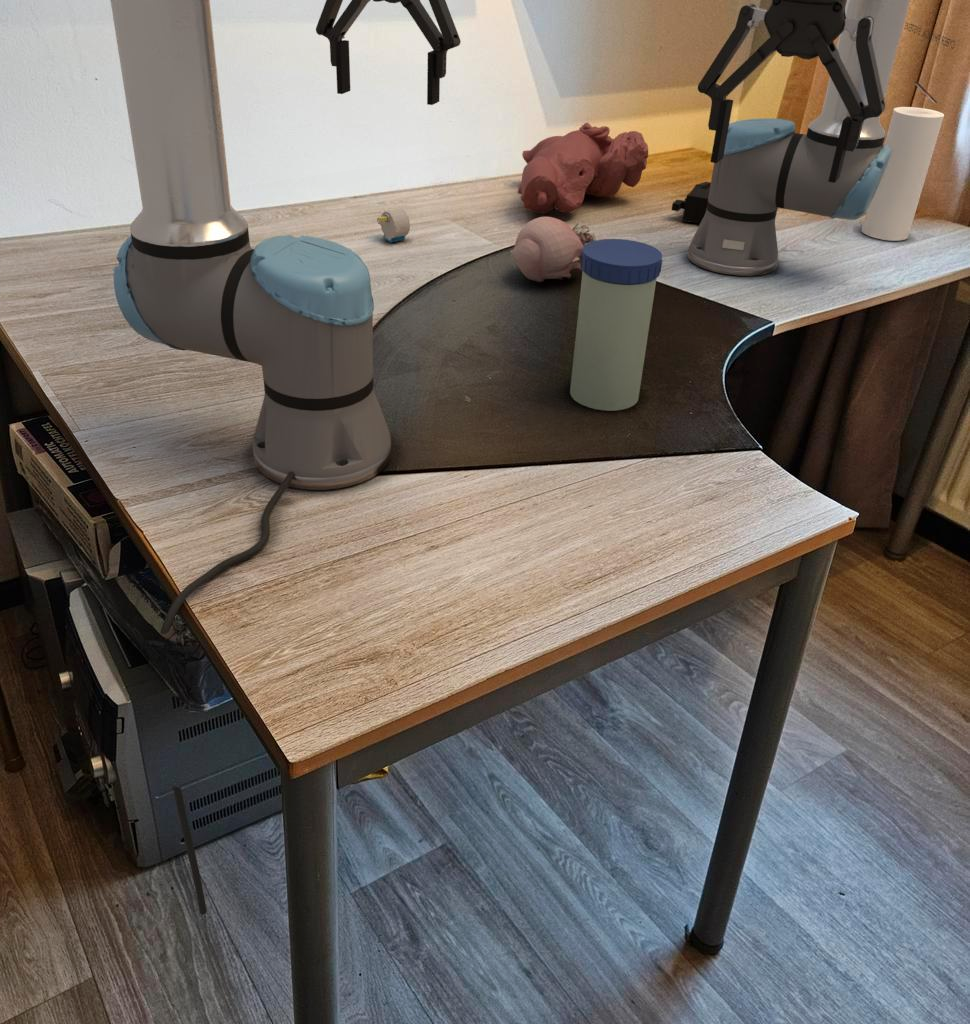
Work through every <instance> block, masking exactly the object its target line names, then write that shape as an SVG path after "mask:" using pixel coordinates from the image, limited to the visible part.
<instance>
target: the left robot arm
mask: <svg viewBox="0 0 970 1024" xmlns="http://www.w3.org/2000/svg"><path fill="white" fill-rule="evenodd" d="M343 1H344V0H325V3H324V5H323V8H322V11H321V13H320V16H319V19H318V22H317V24H316V27H315V33H316V34H317V35H318V36H323V37H324V38H326V39H327V40H328V42H329V54H330V56H329V57H330V65H331V67H335V70H336V71H335V72H336V94H339V95H343V94H346V93H349V92H351V67H350V66H351V63H350V41H349V40H345V38H346V36H345V35H347V33H348V31H349V30H350V29H351V27H352V26H353V24H354V23H355V21H356V20H357V19H358V18H359V16H360V14H361V13H362V12H363V10H364V9H365V8H366V6H367V5H368V4H369V3H370V2H371V1H372V2H377V3H380V2H384V1H385V2H387V3H389V4H398V3H400V4H401V5H402V7H403V8H405V9H406V10H407V12H408V13H409V15H410V17H411V18H412V20H413V21H414V22H415V24H416V26H417V27H418V29H419V31H420V32H421V33H422V35H423V36H424V38H425V39H426V40H427V43H428V44H429V46H430V47H431V48H432V50H431V51H428V52H427V74H426V75H427V79H426V80H427V85H426V87H427V88H426V105H429V106H433V105H435V104H438V103H440V93H441V92H440V91H441V90H440V89H441V87H440V86H441V83H440V81H441V79H443V78H445V77H446V74H447V54H448V51H449V50H451V49H454V48H457V47H459V46H460V45H461V42H462V41H461V38H460V35H459V33H458V30H457V27H456V24H455V22H454V19H453V17H452V14H451V11H450V9H449V7H448V4H447V1H446V0H428V2H429V5H430V8H431V10H432V13H433V15H434V18H435V21H436V23H437V25H438V26H437V25H436V23H435V22H434V20H433V19H432V17H431V15H429V13H428V11H427V9H426V8H425V6H424V5H423V3H422V2H421V0H351V1H350V2H349V3H348V5H347V6H346V8H345V9H344V11H343V12H342V14H341V15H340V16H339V18H338V19H337V17H338V14H339V12H340V9H341V6H342V4H343ZM110 6H111V12H112V19H113V20H112V21H113V27H114V31H115V39H116V45H117V52H118V59H119V64H120V70H121V77H122V84H123V90H124V96H125V97H124V98H125V103H126V110H127V116H128V122H129V123H128V124H129V129H130V136H131V142H132V149H133V156H134V161H135V169H136V175H137V180H138V187H139V194H140V199H141V206H142V210H141V211H140V212H139V214H138V215H137V216H136V217H135V218H134V220H133V221H132V222H131V224H130V225H129V232H130V236H128V237H127V238H126V239H125V240H124V241H123V243H122V244H121V246H120V247H119V249H118V252H117V256H116V260H117V261H118V265H117V266H114V268H113V288H114V294H115V298H116V302H117V305H118V307H119V310H120V312H121V315H122V316H123V318H124V319H125V321H126V323H127V324H128V325H129V327H130V328H131V329H133V331H134V332H136V333H137V334H138V335H139V336H141V337H143V338H144V339H145V340H148V341H150V342H154V343H157V344H161V345H164V346H167V347H169V348H171V349H174V350H178V351H191V352H197V353H202V354H207V355H211V356H216V357H222V358H226V359H231V360H236V361H242V362H248V363H251V364H252V363H253V364H257V365H259V366H261V370H262V379H263V388H264V390H263V391H264V396H263V400H262V404H261V408H260V412H259V415H258V419H257V423H256V427H255V430H254V434H253V439H252V441H253V442H252V455H253V460H254V464H255V467H256V468H257V470H258V471H259V472H260V473H261V474H262V475H263V476H265V477H266V478H268V479H269V480H271V481H273V482H275V483H278V484H280V485H279V486H278V488H277V490H276V491H275V493H274V494H273V495H272V497H271V498H270V500H269V501H268V503H267V504H266V506H265V508H264V510H263V512H262V516H261V528H262V529H261V532H262V533H261V537H260V539H259V540H258V541H257V542H256V543H255V544H254V545H252V546H251V547H250V548H247V549H246V550H244V551H242V552H240V553H238V554H235V555H233V556H231V557H228V558H227V559H225V560H222V561H221V562H219V563H218V564H216V565H215V566H213V567H212V568H210V569H209V570H208V571H207V572H205V573H203V574H202V575H200V576H199V577H197V578H196V579H195V580H194V581H192V582H190V583H189V584H188V585H187V586H185V587H184V589H182V591H180V593H179V594H178V595H177V596H176V597H175V599H174V601H173V602H172V603H171V605H170V607H169V609H168V611H167V613H166V615H165V618H164V620H163V622H162V625H161V629H160V634H161V635H166V634H169V632H170V631H171V628H172V625H173V623H174V620H175V619H176V618H175V617H176V616H177V613H178V612H179V609H180V608H181V606H182V604H183V603H184V602H185V600H187V598H188V597H189V596H190V595H192V593H194V592H195V591H196V590H197V589H199V588H200V587H202V586H203V585H204V584H206V583H207V582H209V581H210V580H212V579H214V578H215V577H216V576H217V575H218V574H220V573H221V572H222V571H225V570H226V569H228V568H230V567H231V566H234V565H237V564H238V563H240V562H243V561H245V560H247V559H249V558H251V557H253V556H255V555H256V554H258V553H259V552H260V551H261V550H262V549H263V548H264V547H265V545H266V544H268V541H269V539H270V535H271V532H270V531H271V529H270V528H271V527H270V517H271V514H272V511H273V510H274V508H275V506H276V505H277V503H278V502H279V501H280V499H281V498H282V496H283V495H284V493H285V492H286V490H287V488H288V487H290V488H295V489H301V490H312V491H314V490H315V491H323V490H327V491H328V490H337V489H342V488H348V487H351V486H355V485H358V484H361V483H363V482H366V481H368V480H370V479H373V478H374V477H375V476H377V475H378V474H380V473H381V472H382V471H383V470H384V469H385V468H386V467H387V466H388V464H389V463H390V461H391V458H392V437H391V432H390V430H389V427H388V424H387V422H386V419H385V417H384V413H383V411H382V408H381V406H380V403H379V400H378V398H377V395H376V393H375V385H374V320H373V319H374V318H373V317H374V315H373V314H374V308H375V301H374V297H373V292H372V283H371V275H370V270H369V267H368V266H367V264H366V263H365V262H364V260H363V259H362V258H361V257H360V256H359V254H357V253H356V252H355V251H353V250H352V249H351V248H348V247H346V246H345V245H343V244H340V243H338V242H335V241H331V240H329V239H324V238H322V237H317V236H310V235H300V236H299V237H296V236H293V235H288V234H287V235H279V236H273V237H269V238H265V239H264V240H262V241H260V242H259V243H258V244H257V245H255V247H254V248H253V247H251V242H250V241H251V240H250V233H249V223H248V220H247V219H246V218H245V216H243V215H242V214H240V213H239V212H238V211H237V210H236V209H234V207H233V206H232V203H231V194H230V185H229V183H230V182H229V175H228V174H229V173H228V165H227V156H226V155H227V154H226V146H225V137H224V129H223V128H224V127H223V118H222V117H223V115H222V106H221V97H220V88H219V78H218V67H217V59H216V57H217V56H216V49H215V40H214V30H213V29H214V28H213V21H212V20H213V19H212V11H211V2H210V0H110ZM336 19H337V21H336ZM172 791H173V795H174V800H175V804H176V809H177V813H178V814H177V815H178V818H179V823H180V827H181V831H182V835H183V839H184V844H185V849H186V853H187V857H188V861H189V866H190V870H191V875H192V879H193V884H194V889H195V894H196V899H197V905H198V911H199V914H200V915H205V914H207V911H208V910H207V905H206V900H205V893H204V888H203V883H202V879H201V873H200V868H199V863H198V858H197V854H196V851H195V846H194V842H193V837H192V832H191V827H190V825H189V820H188V815H187V810H186V806H185V805H186V804H185V801H184V796H183V791H182V788H180V787H178V786H176V785H175V786H174V785H172Z"/></svg>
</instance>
